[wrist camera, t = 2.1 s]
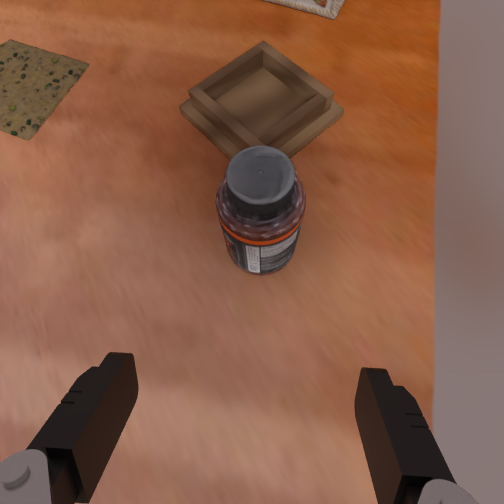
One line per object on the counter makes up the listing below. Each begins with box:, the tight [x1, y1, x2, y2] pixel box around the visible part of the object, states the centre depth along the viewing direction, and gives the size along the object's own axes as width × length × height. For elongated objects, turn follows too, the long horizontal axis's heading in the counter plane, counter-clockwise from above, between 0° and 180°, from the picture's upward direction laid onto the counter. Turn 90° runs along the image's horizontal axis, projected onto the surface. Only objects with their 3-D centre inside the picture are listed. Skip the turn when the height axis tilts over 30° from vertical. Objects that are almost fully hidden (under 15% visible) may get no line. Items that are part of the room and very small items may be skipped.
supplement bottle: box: [216, 145, 306, 275], centre depth 24 cm, size 6×6×11 cm
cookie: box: [0, 39, 90, 140], centre depth 37 cm, size 12×12×1 cm
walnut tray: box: [179, 41, 344, 160], centre depth 33 cm, size 12×12×3 cm
